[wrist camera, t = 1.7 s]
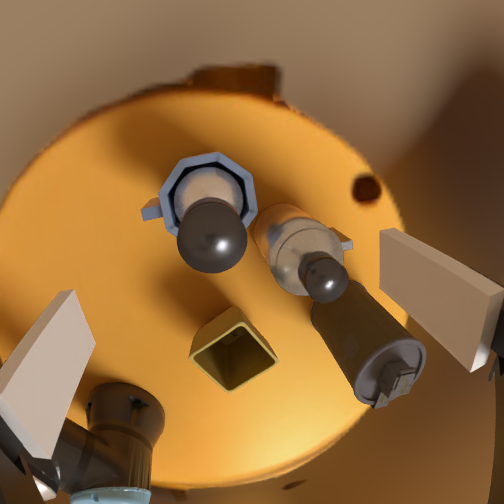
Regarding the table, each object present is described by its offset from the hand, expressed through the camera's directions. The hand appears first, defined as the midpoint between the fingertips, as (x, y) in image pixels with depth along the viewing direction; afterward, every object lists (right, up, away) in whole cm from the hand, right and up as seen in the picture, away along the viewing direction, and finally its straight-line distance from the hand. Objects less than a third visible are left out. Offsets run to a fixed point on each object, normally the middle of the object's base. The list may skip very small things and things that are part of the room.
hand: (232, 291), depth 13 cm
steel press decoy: (+5, +4, +32) cm, 33 cm away
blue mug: (-6, +10, +29) cm, 31 cm away
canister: (+15, -8, +38) cm, 42 cm away
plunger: (-4, +7, +18) cm, 20 cm away
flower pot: (-3, -10, +36) cm, 37 cm away
